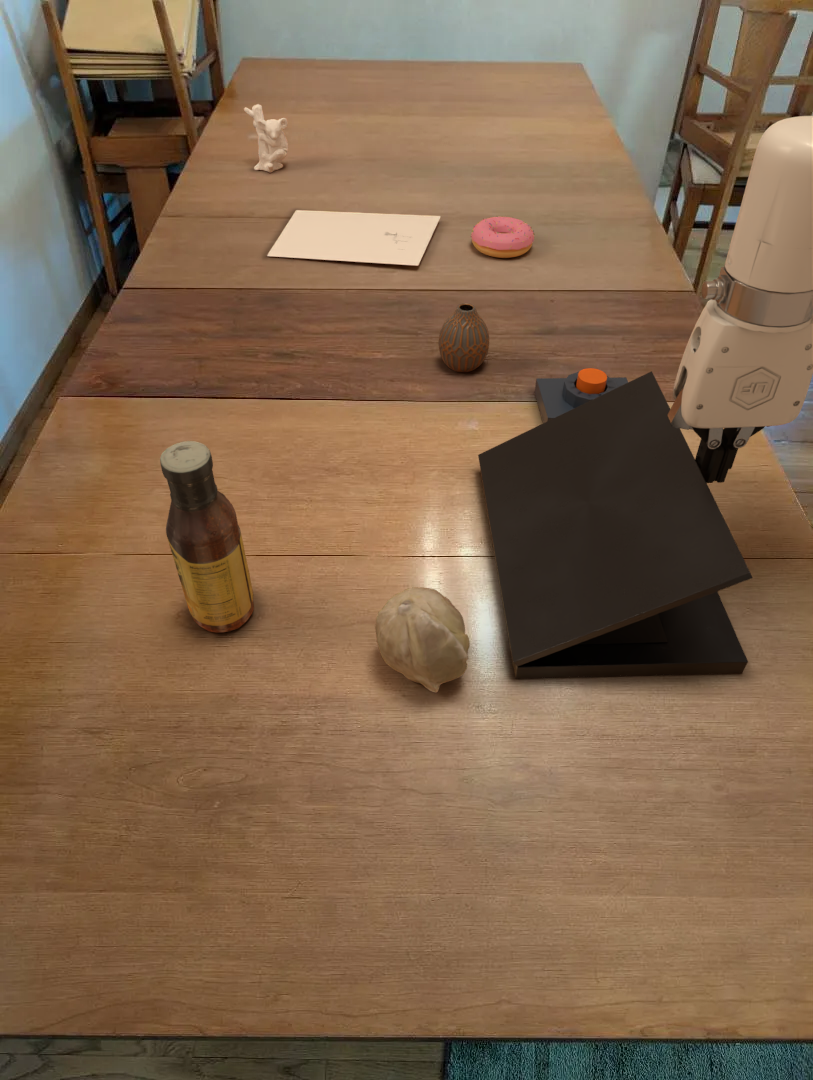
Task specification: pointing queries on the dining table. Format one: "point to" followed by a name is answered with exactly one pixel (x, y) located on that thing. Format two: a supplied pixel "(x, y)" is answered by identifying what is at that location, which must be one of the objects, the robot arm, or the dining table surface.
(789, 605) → the dining table surface
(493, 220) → the doughnut
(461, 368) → the vase
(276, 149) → the koala figurine
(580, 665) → the laptop
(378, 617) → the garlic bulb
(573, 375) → the switch box
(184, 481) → the sauce bottle
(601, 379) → the button
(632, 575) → the laptop screen
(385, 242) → the paper sheet
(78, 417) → the dining table surface
